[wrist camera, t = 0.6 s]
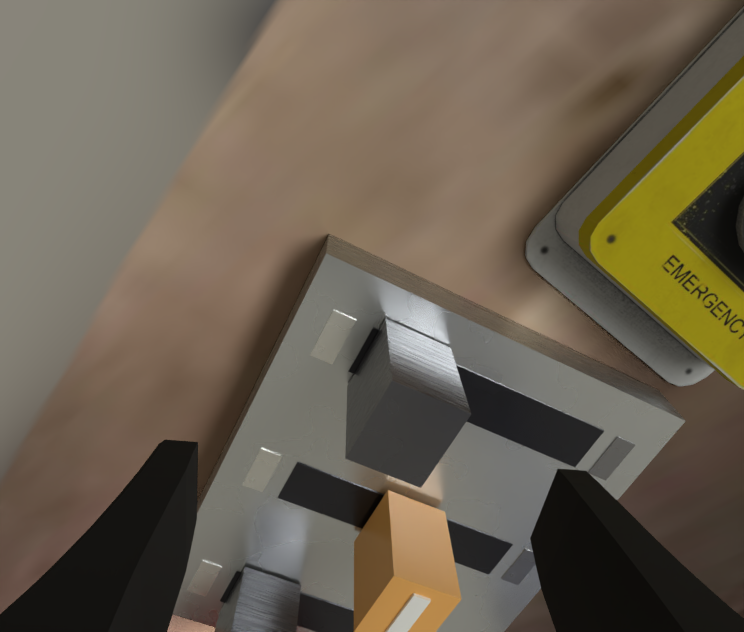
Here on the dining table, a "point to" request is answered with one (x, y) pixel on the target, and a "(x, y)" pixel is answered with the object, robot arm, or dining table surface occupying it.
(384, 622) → the breaker
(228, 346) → the dining table surface
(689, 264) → the emergency button
